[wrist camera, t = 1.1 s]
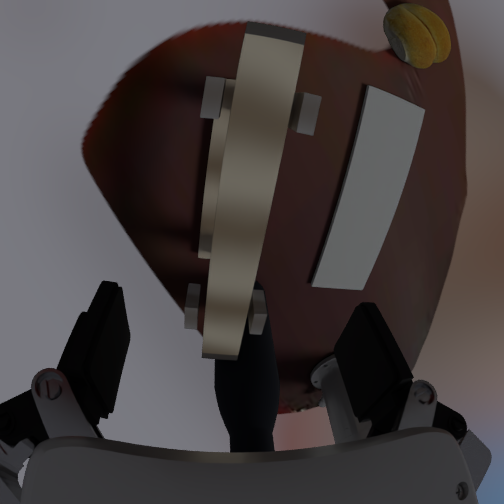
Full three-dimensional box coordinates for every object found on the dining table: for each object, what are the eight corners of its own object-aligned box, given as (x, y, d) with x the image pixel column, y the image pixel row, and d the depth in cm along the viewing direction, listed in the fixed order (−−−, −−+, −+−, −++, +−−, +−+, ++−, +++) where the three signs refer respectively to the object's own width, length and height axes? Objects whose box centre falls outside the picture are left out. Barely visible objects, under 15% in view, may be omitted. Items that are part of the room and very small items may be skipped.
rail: (235, 335, 27) (236, 360, 24) (203, 332, 27) (201, 357, 24) (294, 42, 14) (306, 33, 11) (245, 33, 14) (247, 21, 11)
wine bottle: (207, 289, 36) (200, 540, 11) (250, 268, 35) (283, 540, 10) (232, 319, 40) (244, 538, 14) (272, 301, 38) (314, 531, 13)
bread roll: (448, 56, 21) (468, 57, 18) (403, 74, 23) (423, 75, 20) (419, 0, 17) (438, -5, 14) (369, 13, 19) (386, 5, 16)
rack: (249, 258, 34) (259, 340, 23) (197, 252, 33) (184, 334, 22) (283, 88, 24) (324, 84, 13) (218, 78, 23) (208, 62, 12)
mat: (360, 287, 38) (362, 289, 38) (310, 283, 37) (311, 286, 37) (422, 109, 25) (424, 109, 25) (367, 85, 24) (369, 85, 23)
